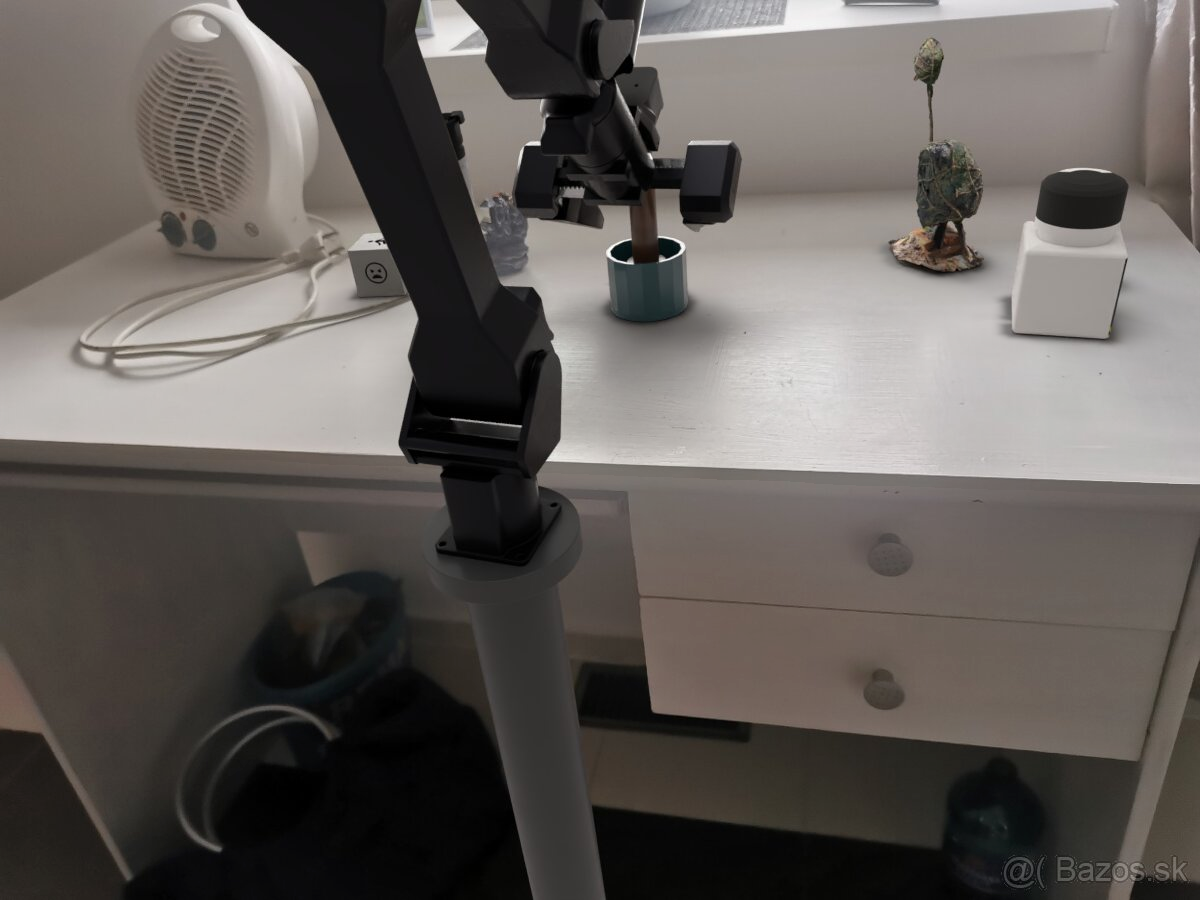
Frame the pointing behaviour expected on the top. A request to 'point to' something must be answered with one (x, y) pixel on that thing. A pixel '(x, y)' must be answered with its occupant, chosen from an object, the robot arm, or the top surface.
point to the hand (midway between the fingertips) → (649, 225)
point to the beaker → (648, 282)
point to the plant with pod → (941, 189)
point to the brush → (645, 231)
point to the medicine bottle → (1072, 256)
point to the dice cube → (375, 268)
